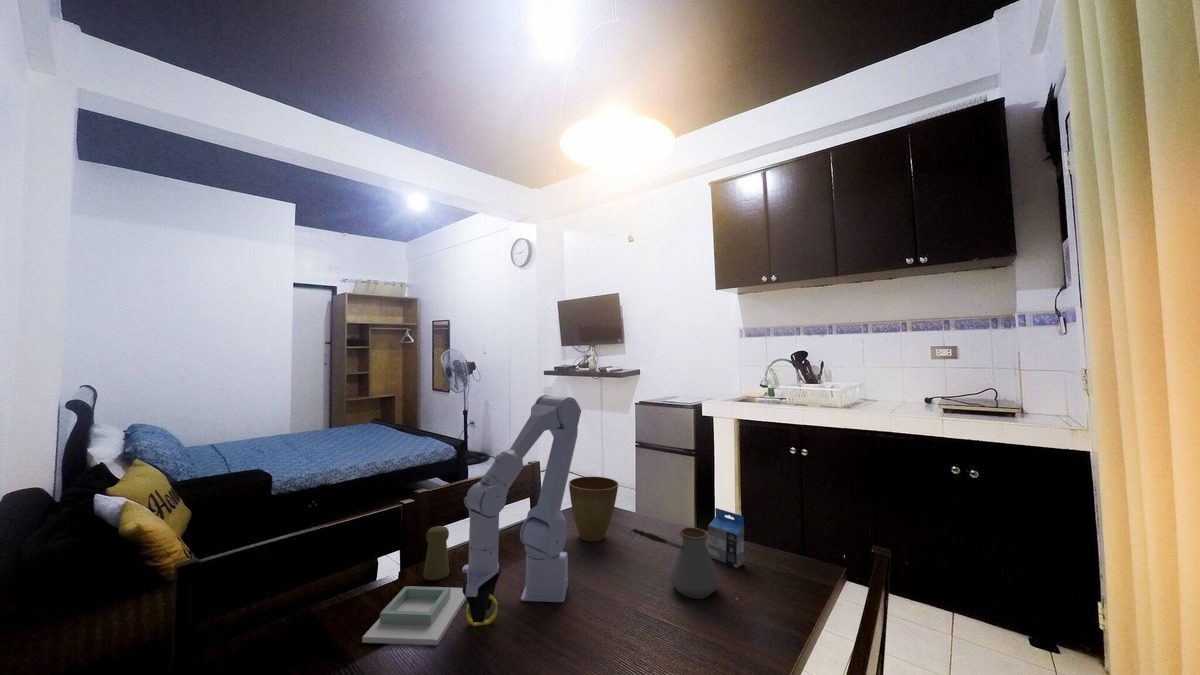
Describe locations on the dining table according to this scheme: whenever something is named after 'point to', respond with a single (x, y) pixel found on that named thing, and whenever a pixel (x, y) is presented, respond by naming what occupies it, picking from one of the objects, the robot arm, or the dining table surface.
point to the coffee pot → (690, 563)
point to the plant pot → (592, 505)
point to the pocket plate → (417, 616)
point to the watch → (486, 619)
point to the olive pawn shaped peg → (436, 554)
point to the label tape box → (726, 538)
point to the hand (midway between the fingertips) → (481, 614)
